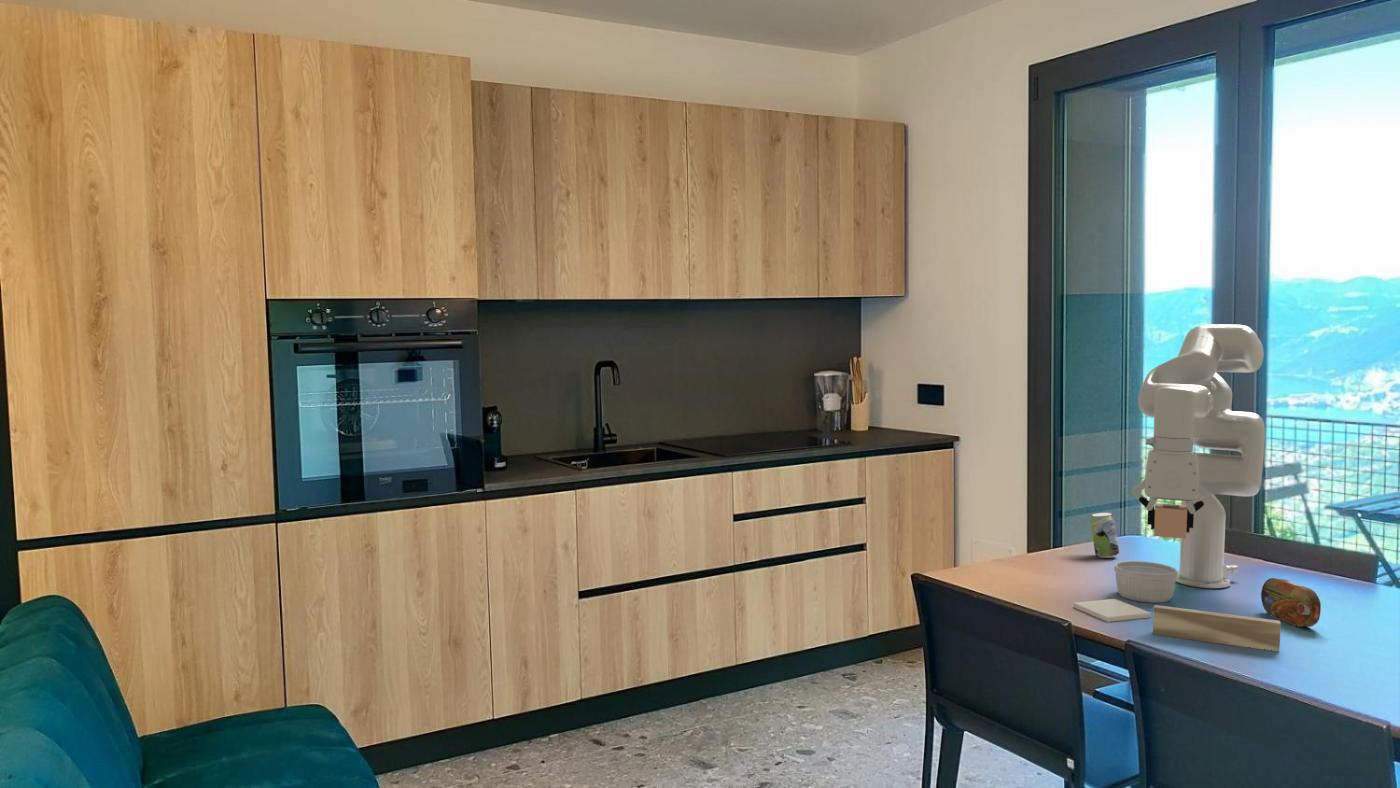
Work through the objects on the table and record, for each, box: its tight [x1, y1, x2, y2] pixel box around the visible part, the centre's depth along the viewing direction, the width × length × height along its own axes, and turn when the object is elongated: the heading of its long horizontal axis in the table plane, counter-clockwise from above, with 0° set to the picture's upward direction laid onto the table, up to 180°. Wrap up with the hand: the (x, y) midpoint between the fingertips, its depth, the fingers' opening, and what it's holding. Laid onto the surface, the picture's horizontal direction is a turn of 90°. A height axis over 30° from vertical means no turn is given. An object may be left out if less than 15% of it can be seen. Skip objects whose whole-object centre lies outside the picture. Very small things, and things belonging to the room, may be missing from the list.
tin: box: [1260, 577, 1322, 628], centre depth 201 cm, size 15×3×8 cm, turn 5°
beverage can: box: [1090, 512, 1120, 559], centre depth 256 cm, size 6×7×12 cm
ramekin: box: [1113, 560, 1178, 604], centre depth 219 cm, size 13×13×7 cm
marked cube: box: [1153, 502, 1187, 540], centre depth 200 cm, size 6×6×6 cm
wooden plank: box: [1152, 604, 1282, 652], centre depth 188 cm, size 2×22×6 cm, turn 62°
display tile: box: [1073, 598, 1152, 623], centre depth 207 cm, size 11×11×1 cm
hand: (1170, 528), depth 201 cm, fingers closed on marked cube, 6 cm apart
